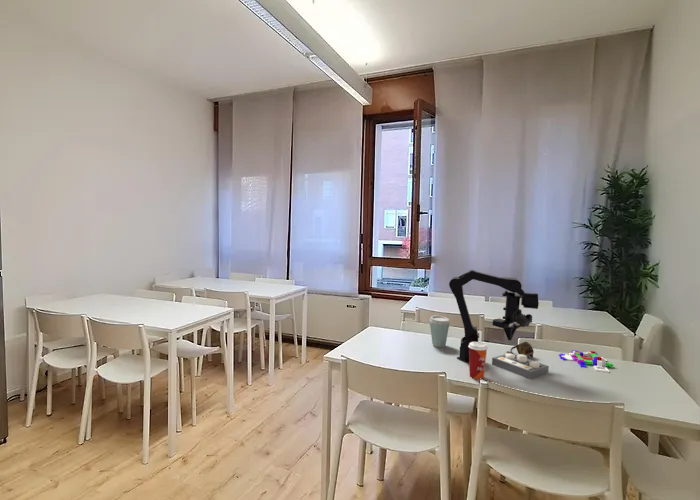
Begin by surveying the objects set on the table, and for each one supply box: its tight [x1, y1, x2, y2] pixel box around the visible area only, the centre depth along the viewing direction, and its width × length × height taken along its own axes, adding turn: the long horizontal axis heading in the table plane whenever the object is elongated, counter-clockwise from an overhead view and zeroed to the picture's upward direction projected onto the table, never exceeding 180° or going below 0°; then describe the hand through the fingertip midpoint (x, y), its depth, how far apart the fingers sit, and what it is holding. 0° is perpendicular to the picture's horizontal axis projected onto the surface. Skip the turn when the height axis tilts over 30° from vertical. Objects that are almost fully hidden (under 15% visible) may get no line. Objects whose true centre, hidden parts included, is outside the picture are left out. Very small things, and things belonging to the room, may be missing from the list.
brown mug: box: [505, 341, 535, 358], centre depth 190 cm, size 7×13×10 cm
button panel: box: [491, 352, 550, 380], centre depth 175 cm, size 13×19×3 cm
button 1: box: [504, 353, 516, 360], centre depth 180 cm, size 4×4×3 cm
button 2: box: [529, 361, 540, 368], centre depth 170 cm, size 4×4×3 cm
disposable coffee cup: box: [428, 315, 451, 348], centre depth 203 cm, size 11×11×15 cm
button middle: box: [516, 353, 528, 364], centre depth 175 cm, size 4×4×3 cm
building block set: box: [558, 349, 614, 374], centre depth 186 cm, size 25×20×4 cm
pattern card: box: [497, 357, 532, 370], centre depth 172 cm, size 4×15×1 cm, turn 32°
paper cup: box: [468, 341, 488, 380], centre depth 164 cm, size 8×8×14 cm
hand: (509, 340), depth 178 cm, fingers closed
